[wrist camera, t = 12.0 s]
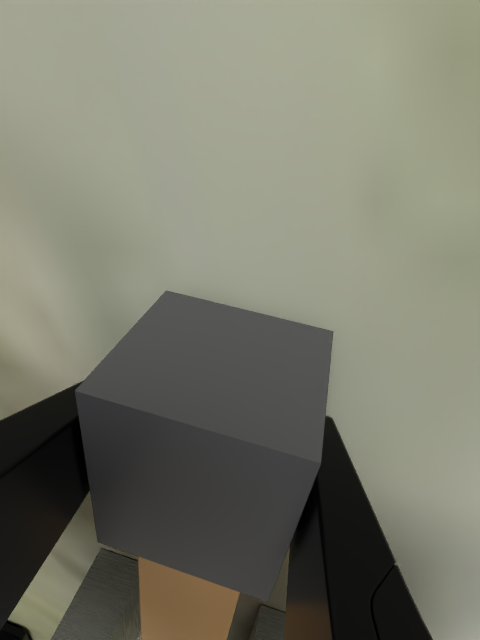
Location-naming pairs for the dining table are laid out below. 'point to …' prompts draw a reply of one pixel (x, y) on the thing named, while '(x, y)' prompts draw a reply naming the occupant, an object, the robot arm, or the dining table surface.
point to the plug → (204, 455)
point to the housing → (129, 605)
